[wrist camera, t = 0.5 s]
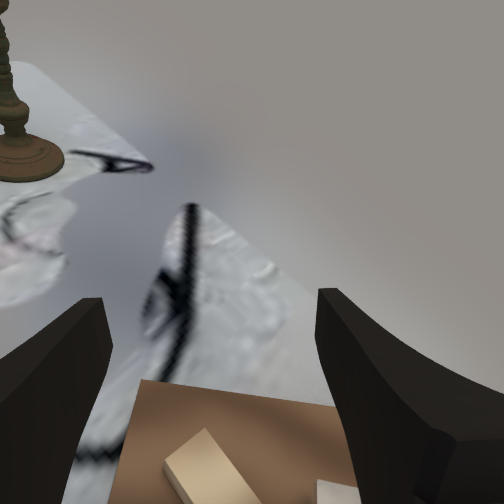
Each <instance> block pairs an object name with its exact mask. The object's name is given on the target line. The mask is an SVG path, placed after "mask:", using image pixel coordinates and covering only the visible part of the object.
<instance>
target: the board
mask: <svg viewBox="0 0 504 504" xmlns="http://www.w3.org/2000/svg"><path fill="white" fill-rule="evenodd" d="M204 428H206V430H207V431H208V432H209V434H210V435H211V436H212V438H213V439H214V440H215V442H216V443H217V444H218V446H219V447H220V448H221V450H222V451H223V452H224V454H225V455H226V456H227V458H228V459H229V460H230V462H231V463H232V464H233V466H234V467H235V468H236V470H237V471H238V472H239V474H240V475H241V476H242V478H243V479H244V480H245V482H246V483H247V484H248V486H249V487H250V488H251V490H252V491H253V492H254V494H255V495H256V496H257V498H258V499H259V500H260V502H261V503H262V504H313V482H314V481H315V480H317V479H319V480H324V481H328V482H333V483H337V484H342V485H346V486H351V487H356V488H358V486H357V482H356V477H355V473H354V469H353V464H352V460H351V456H350V452H349V448H348V444H347V440H346V436H345V432H344V429H343V426H342V423H341V420H340V417H339V414H338V411H337V409H336V407H331V406H324V405H317V404H310V403H303V402H296V401H289V400H282V399H275V398H268V397H261V396H254V395H247V394H240V393H233V392H226V391H219V390H212V389H205V388H198V387H192V386H185V385H178V384H171V383H164V382H157V381H150V380H143V379H141V382H140V386H139V390H138V393H137V397H136V401H135V404H134V408H133V412H132V416H131V419H130V423H129V427H128V430H127V434H126V438H125V442H124V445H123V449H122V453H121V456H120V460H119V464H118V468H117V471H116V475H115V479H114V482H113V486H112V490H111V494H110V497H109V501H108V504H184V503H183V501H182V500H181V498H180V497H179V495H178V494H177V492H176V491H175V489H174V488H173V486H172V485H171V483H170V481H169V480H168V478H167V477H166V475H165V474H164V472H163V471H162V470H163V465H164V461H165V459H166V458H167V457H169V456H170V455H171V454H172V453H174V452H175V451H176V450H177V449H179V448H180V447H181V446H182V445H184V444H185V443H186V442H187V441H189V440H190V439H191V438H192V437H194V436H195V435H196V434H197V433H199V432H200V431H201V430H202V429H204Z"/></svg>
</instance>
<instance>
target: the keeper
mask: <svg viewBox="0 0 504 504" xmlns="http://www.w3.org/2000/svg"><path fill="white" fill-rule="evenodd" d="M313 504H361V499H360V495H359V490H358V488H356V487H351V486H346V485H342V484H337V483H333V482H328V481H324V480H319V479H317V480H315V481H314V482H313Z"/></svg>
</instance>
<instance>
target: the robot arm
mask: <svg viewBox="0 0 504 504" xmlns="http://www.w3.org/2000/svg"><path fill="white" fill-rule="evenodd" d="M315 341H316V346H317V351H318V355H319V359H320V363H321V366H322V369H323V372H324V375H325V378H326V381H327V383H328V386H329V389H330V392H331V395H332V397H333V400H334V403H335V406H336V409H337V411H338V414H339V417H340V420H341V423H342V426H343V429H344V432H345V436H346V440H347V444H348V448H349V452H350V456H351V460H352V464H353V469H354V473H355V477H356V482H357V486H358V490H359V495H360V499H361V504H504V394H502V393H499V392H497V391H495V390H492V389H490V388H487V387H485V386H483V385H481V384H478V383H476V382H474V381H471V380H470V379H467V378H465V377H463V376H461V375H459V374H457V373H455V372H453V371H451V370H449V369H447V368H445V367H443V366H442V365H440V364H438V363H436V362H434V361H432V360H431V359H429V358H427V357H425V356H424V355H422V354H421V353H419V352H417V351H416V350H414V349H413V348H411V347H409V346H408V345H406V344H405V343H403V342H402V341H400V340H399V339H398V338H396V337H395V336H394V335H392V334H391V333H389V332H388V331H387V330H385V329H384V328H383V327H381V326H380V325H379V324H378V323H376V322H375V321H374V320H373V319H372V318H370V317H369V316H368V315H367V314H366V313H364V312H363V311H362V310H361V309H360V308H358V306H356V305H355V304H354V303H353V302H352V301H351V300H349V298H347V297H346V296H345V295H344V294H343V293H342V292H341V291H339V290H338V289H337V288H323V289H322V288H321V289H318V301H317V313H316V325H315ZM112 349H113V343H112V339H111V335H110V330H109V326H108V322H107V317H106V313H105V309H104V305H103V300H102V298H83V299H81V300H80V301H78V302H77V303H76V304H74V305H73V306H72V307H71V308H69V309H68V310H67V311H65V312H64V313H63V314H61V315H60V316H59V317H58V318H56V319H55V320H54V321H52V322H51V323H50V324H48V325H47V326H46V327H45V328H43V329H42V330H41V331H39V332H38V333H37V334H35V335H34V336H33V337H31V338H30V339H28V340H27V341H26V342H24V343H23V344H21V345H20V346H19V347H17V348H16V349H14V350H13V351H12V352H10V353H9V354H7V355H6V356H4V357H3V358H1V359H0V504H61V503H62V499H63V495H64V491H65V488H66V484H67V480H68V477H69V473H70V470H71V466H72V463H73V459H74V456H75V453H76V449H77V447H78V444H79V441H80V438H81V435H82V433H83V430H84V428H85V426H86V423H87V421H88V418H89V416H90V413H91V411H92V408H93V406H94V403H95V401H96V398H97V396H98V393H99V391H100V388H101V386H102V383H103V381H104V378H105V376H106V373H107V369H108V365H109V361H110V357H111V353H112Z"/></svg>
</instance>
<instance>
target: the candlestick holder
mask: <svg viewBox="0 0 504 504" xmlns="http://www.w3.org/2000/svg"><path fill="white" fill-rule="evenodd" d="M8 6H9V0H0V15H1V14H2V13H3V12H5V11H6V10H7V9H8ZM4 30H5V27H4V26H3V24H2V22H1V20H0V124H2V125H3V126H4V131H5V134H3V135H0V180H2V181H9V182H29V181H35V180H40V179H43V178H46V177H49V176H51V175H53V174H54V173H56V172H57V171H58V170H59V169H60V168H61V167H62V166H63V163H64V154H63V152H62V151H61V149H60V148H59V147H58V146H57V145H55V144H54V143H52V142H50V141H47V140H45V139H41V138H39V137H37V136H35V135H31V134H27V133H26V132H25V131H26V129H25V128H24V125H25V124H26V123H27V122H28V118H29V107H28V105H27V104H26V103H24V102H23V101H21V100H19V98H18V97H17V95H16V93H15V91H14V90H13V79H12V78H13V75H12V73H11V72H10V71H11V66H10V64H9V57H8V54H7V53H8V51H9V41H8V39H7V37H6V33H5V31H4Z"/></svg>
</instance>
